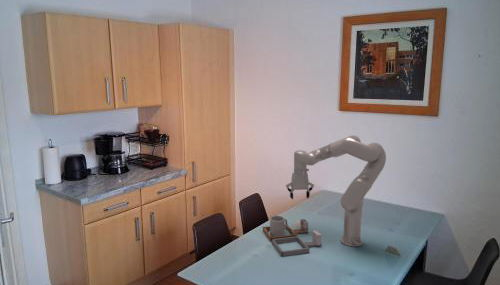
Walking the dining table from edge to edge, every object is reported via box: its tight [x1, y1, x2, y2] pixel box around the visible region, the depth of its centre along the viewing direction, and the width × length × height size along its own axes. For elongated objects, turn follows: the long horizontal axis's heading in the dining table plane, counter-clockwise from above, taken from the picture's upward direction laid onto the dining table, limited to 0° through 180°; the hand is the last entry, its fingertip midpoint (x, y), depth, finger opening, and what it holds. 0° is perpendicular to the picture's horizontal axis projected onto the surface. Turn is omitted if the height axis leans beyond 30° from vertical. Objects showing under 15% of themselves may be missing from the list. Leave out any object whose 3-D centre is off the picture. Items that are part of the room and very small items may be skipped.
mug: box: [269, 215, 288, 237], centre depth 223 cm, size 12×8×11 cm
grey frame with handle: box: [271, 230, 322, 257], centre depth 208 cm, size 16×26×7 cm, turn 105°
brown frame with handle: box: [262, 218, 309, 243], centre depth 225 cm, size 16×26×7 cm, turn 105°
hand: (299, 198), depth 227 cm, fingers open, 9 cm apart
